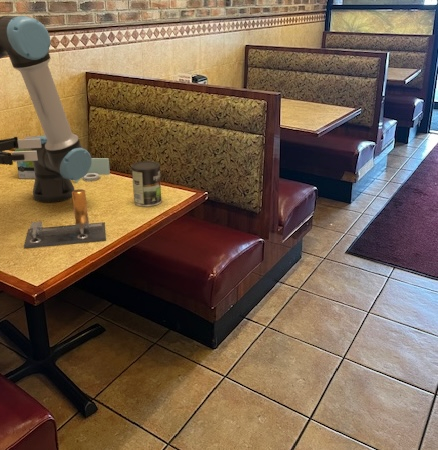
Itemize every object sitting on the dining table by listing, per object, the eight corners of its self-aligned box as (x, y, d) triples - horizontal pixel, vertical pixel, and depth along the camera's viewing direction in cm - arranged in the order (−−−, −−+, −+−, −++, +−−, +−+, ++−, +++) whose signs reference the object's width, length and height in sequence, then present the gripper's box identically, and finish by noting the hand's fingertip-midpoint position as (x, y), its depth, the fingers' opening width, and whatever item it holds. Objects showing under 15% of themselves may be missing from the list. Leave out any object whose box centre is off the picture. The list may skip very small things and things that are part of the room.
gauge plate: (28, 231, 160) (27, 221, 159) (105, 225, 165) (104, 214, 164) (24, 248, 150) (22, 237, 148) (106, 240, 155) (105, 229, 153)
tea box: (42, 179, 207) (37, 144, 201) (18, 179, 207) (12, 144, 201) (54, 168, 220) (49, 135, 214) (31, 168, 220) (26, 135, 214)
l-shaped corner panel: (74, 184, 203) (72, 166, 200) (82, 175, 214) (80, 158, 211) (104, 184, 203) (102, 167, 200) (110, 175, 214) (108, 158, 211)
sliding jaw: (76, 225, 162) (72, 189, 157) (89, 224, 162) (85, 188, 157) (75, 236, 154) (71, 199, 149) (89, 235, 155) (84, 198, 150)
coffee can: (165, 197, 188) (163, 161, 182) (156, 207, 179) (154, 170, 173) (139, 195, 190) (137, 160, 184) (129, 205, 181) (126, 168, 175)
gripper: (-28, 153, 155) (43, 150, 160) (-47, 179, 133) (37, 174, 138) (-33, 129, 152) (40, 126, 157) (-53, 151, 130) (33, 148, 135)
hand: (39, 149), depth 147 cm, fingers open, 13 cm apart
